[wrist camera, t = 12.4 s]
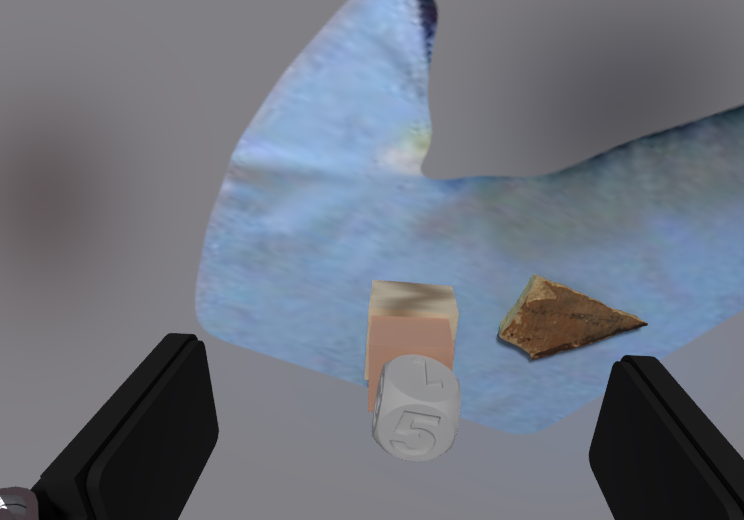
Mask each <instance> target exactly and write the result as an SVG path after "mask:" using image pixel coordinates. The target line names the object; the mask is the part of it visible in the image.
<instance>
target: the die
mask: <svg viewBox="0 0 744 520" xmlns="http://www.w3.org/2000/svg"><path fill="white" fill-rule="evenodd" d="M460 407H461V392H460V384H459V381H458V379H457V377H456V376H455V375H454V373H453V372H452V371H451V370H450V369H449V368H448V367H447V366H445V365H444V364H442V363H441V362H439V361H437V360H435V359H432V358H430V357H426V356H422V355H415V354H408V355H402V356H399V357H396V358H394V359H392V360H390V361H388V362H386V363H385V364H384V365H383V367H382V370H381V374H380V378H379V382H378V387H377V393H376V399H375V405H374V413H373V423H372V436H373V438H374V439H375V441H376V442H377V443H378V444H379V445H380V446H381V447H382V448H383V449H384V450H385V451H386V452H388V453H389V454H391V455H393V456H395V457H397V458H399V459H402V460H406V461H412V462H421V461H427V460H431V459H434V458H436V457H439V456H440V455H442V454H443V453H445V452H446V451H448V450H449V449H450V448H451V447H452V445H453V443H454V440H455V437H456V434H457V429H458V424H459V418H460Z"/></svg>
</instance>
